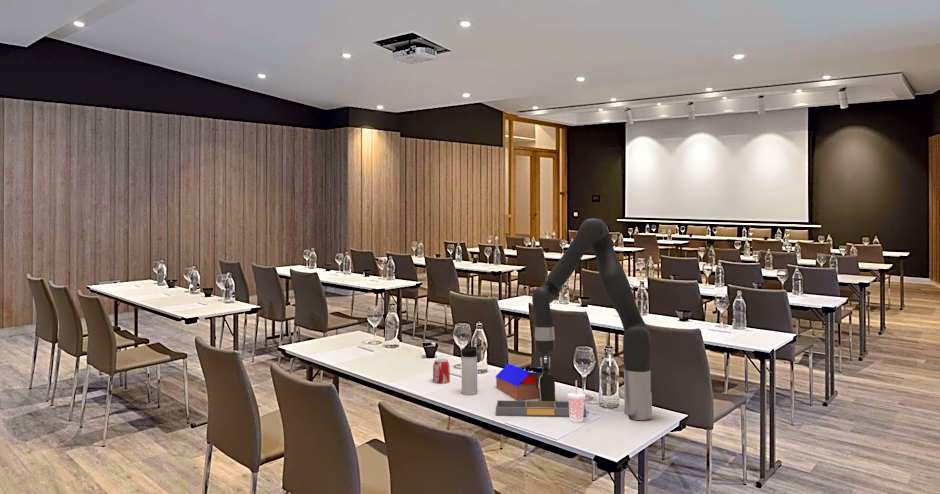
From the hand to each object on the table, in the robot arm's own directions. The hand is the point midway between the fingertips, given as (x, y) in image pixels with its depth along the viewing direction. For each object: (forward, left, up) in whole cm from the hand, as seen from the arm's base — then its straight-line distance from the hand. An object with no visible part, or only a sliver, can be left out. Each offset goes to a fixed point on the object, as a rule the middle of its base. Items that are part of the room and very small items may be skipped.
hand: (545, 381), depth 250 cm
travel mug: (+30, -9, -9) cm, 33 cm away
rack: (+2, +12, -9) cm, 15 cm away
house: (+10, -13, -9) cm, 19 cm away
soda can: (+44, -24, -9) cm, 51 cm away
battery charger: (0, 0, -9) cm, 9 cm away
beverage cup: (-10, +22, -9) cm, 25 cm away
